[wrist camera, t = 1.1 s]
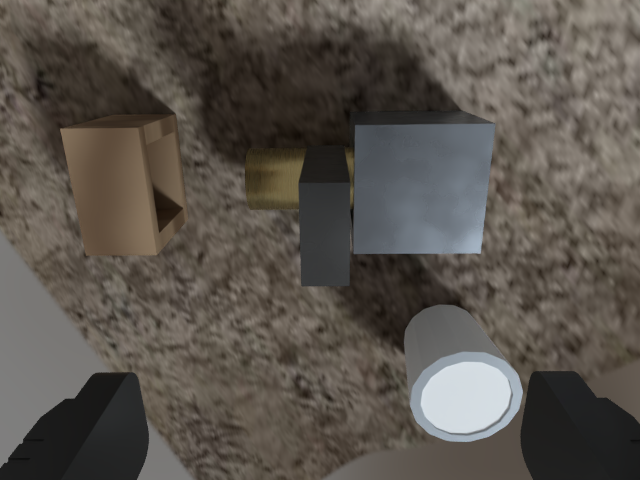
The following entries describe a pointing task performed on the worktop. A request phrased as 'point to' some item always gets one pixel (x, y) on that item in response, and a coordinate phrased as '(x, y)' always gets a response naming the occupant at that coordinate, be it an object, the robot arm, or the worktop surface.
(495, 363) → the shot glass
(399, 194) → the block
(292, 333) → the worktop surface
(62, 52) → the worktop surface
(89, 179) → the socket block
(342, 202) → the slide bolt
